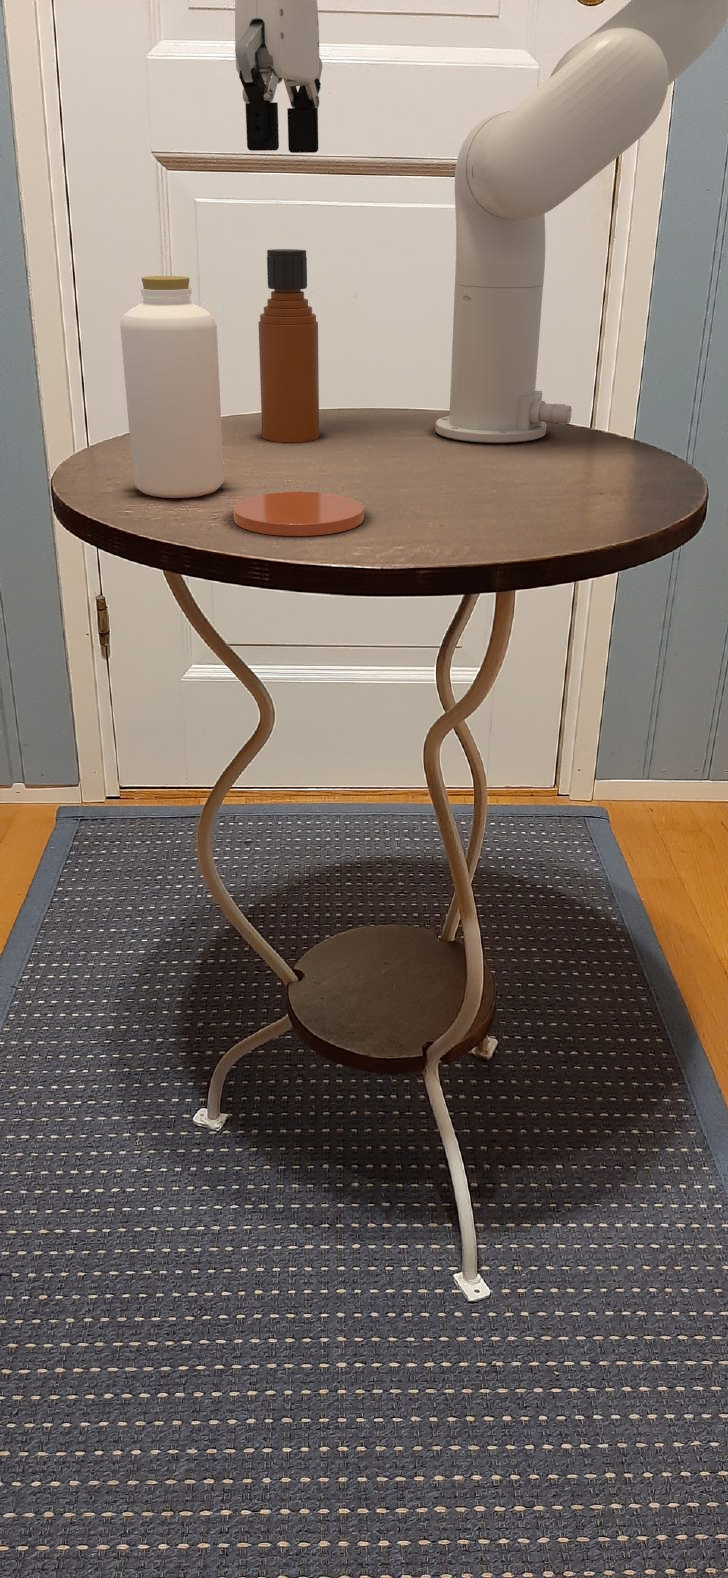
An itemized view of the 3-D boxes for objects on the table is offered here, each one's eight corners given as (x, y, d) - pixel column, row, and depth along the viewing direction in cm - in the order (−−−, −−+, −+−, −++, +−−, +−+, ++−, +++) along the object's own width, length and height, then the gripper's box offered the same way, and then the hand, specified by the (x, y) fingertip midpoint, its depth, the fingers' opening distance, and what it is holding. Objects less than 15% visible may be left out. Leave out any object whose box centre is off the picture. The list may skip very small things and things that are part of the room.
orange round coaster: (382, 510, 100) (383, 498, 100) (332, 542, 91) (332, 529, 91) (269, 498, 104) (269, 486, 103) (210, 527, 95) (209, 515, 94)
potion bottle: (126, 483, 108) (108, 274, 100) (213, 477, 111) (202, 273, 103) (142, 503, 102) (124, 281, 93) (234, 496, 104) (224, 280, 96)
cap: (313, 287, 123) (312, 249, 121) (296, 290, 119) (296, 251, 118) (278, 286, 124) (277, 248, 123) (261, 288, 121) (260, 250, 119)
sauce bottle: (328, 434, 131) (326, 254, 122) (304, 444, 125) (301, 257, 117) (277, 429, 133) (272, 253, 124) (252, 439, 127) (245, 255, 119)
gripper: (282, -42, 116) (287, 153, 124) (197, -73, 102) (209, 149, 110) (350, -47, 114) (351, 153, 122) (273, -80, 99) (280, 149, 108)
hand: (283, 151), depth 116 cm, fingers open, 8 cm apart
